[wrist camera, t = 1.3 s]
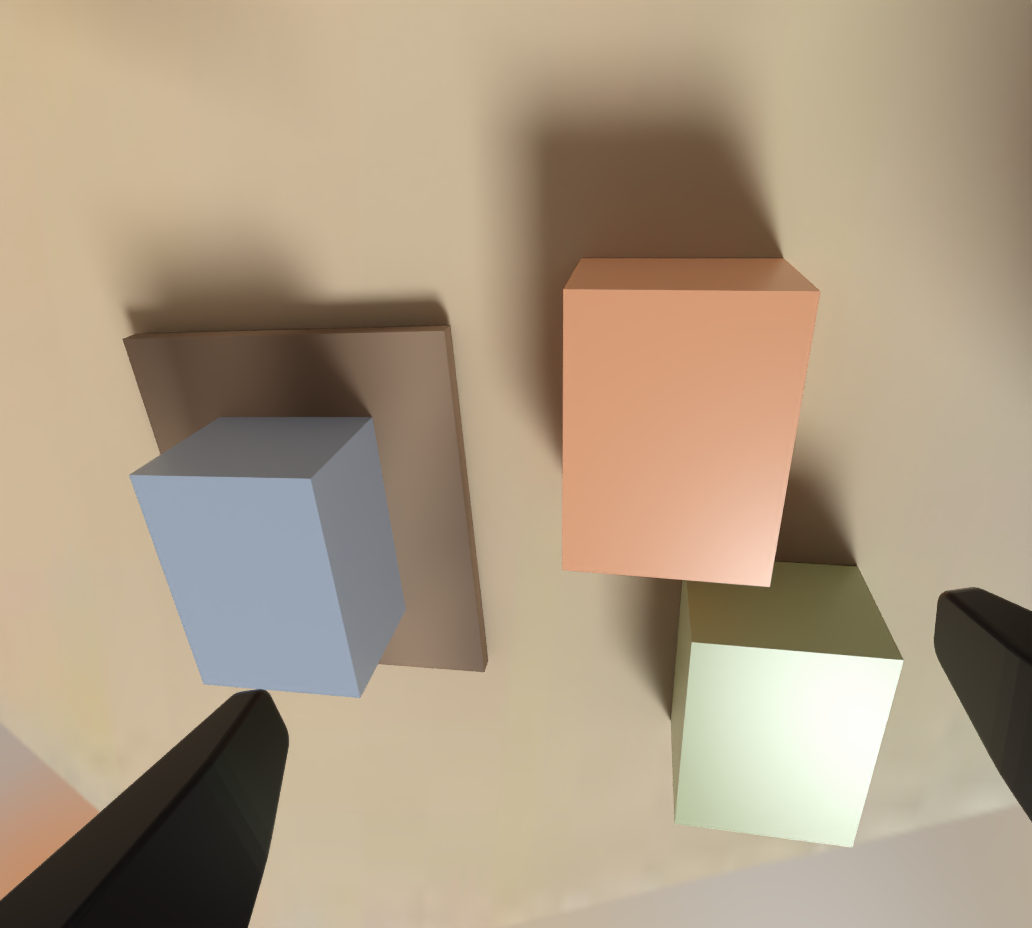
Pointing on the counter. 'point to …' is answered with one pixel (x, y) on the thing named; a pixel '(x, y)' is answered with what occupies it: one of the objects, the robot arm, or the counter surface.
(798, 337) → the terracotta brick
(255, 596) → the base brick
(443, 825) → the counter surface
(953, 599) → the robot arm
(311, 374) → the walnut board
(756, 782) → the olive brick
